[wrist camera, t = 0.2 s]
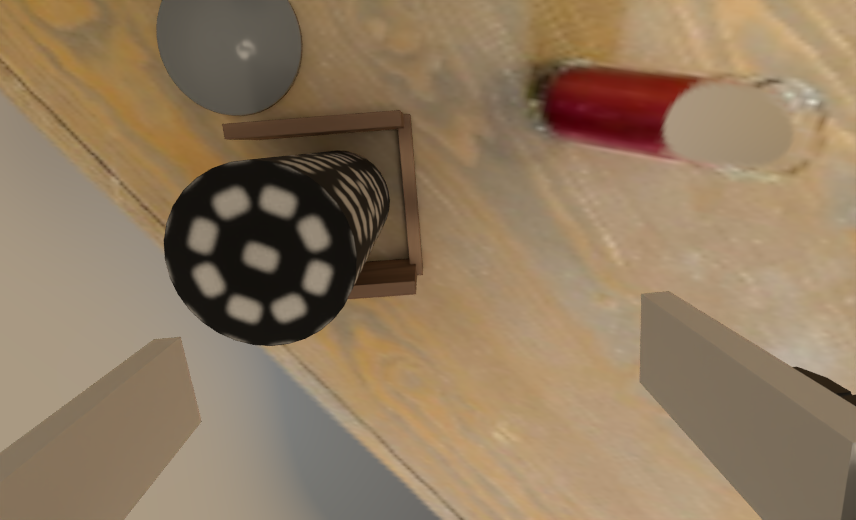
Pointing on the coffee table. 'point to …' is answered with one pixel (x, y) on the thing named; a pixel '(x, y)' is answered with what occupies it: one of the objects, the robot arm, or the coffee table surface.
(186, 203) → the spotted tube
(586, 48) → the coffee table surface
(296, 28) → the coaster
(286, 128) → the rack
